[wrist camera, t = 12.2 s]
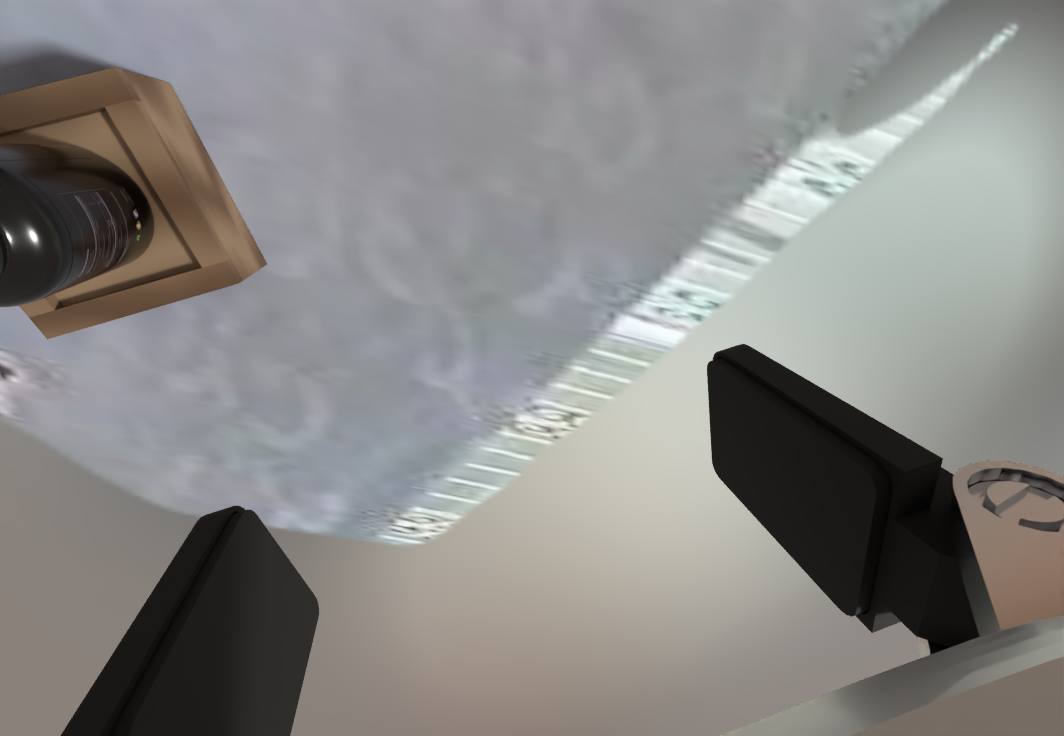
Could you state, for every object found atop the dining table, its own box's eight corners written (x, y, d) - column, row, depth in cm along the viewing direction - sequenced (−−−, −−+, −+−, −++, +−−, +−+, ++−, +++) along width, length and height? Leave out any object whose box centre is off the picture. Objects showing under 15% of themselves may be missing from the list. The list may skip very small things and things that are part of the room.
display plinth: (-27, 133, 27) (-131, 127, 22) (170, 83, 28) (113, 67, 23) (106, 310, 33) (47, 339, 28) (267, 264, 34) (238, 283, 29)
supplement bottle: (31, 257, 27) (-230, 325, 16) (2, 131, 24) (-332, 112, 13) (167, 275, 28) (14, 346, 18) (154, 160, 26) (-34, 163, 15)
